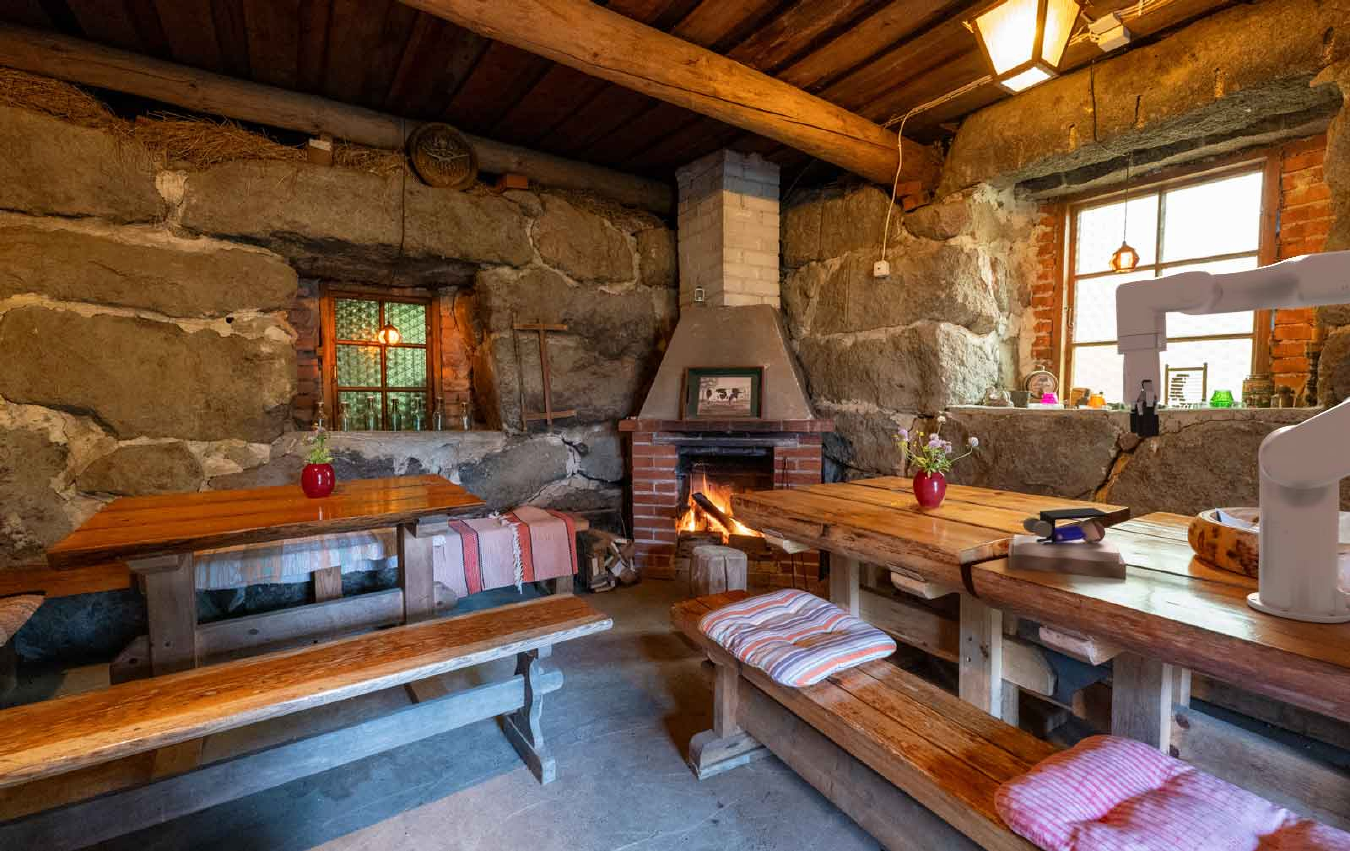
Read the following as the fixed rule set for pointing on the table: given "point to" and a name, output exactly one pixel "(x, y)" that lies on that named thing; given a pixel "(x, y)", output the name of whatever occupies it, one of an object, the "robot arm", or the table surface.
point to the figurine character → (1085, 531)
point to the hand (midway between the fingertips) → (1144, 434)
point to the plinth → (1067, 565)
